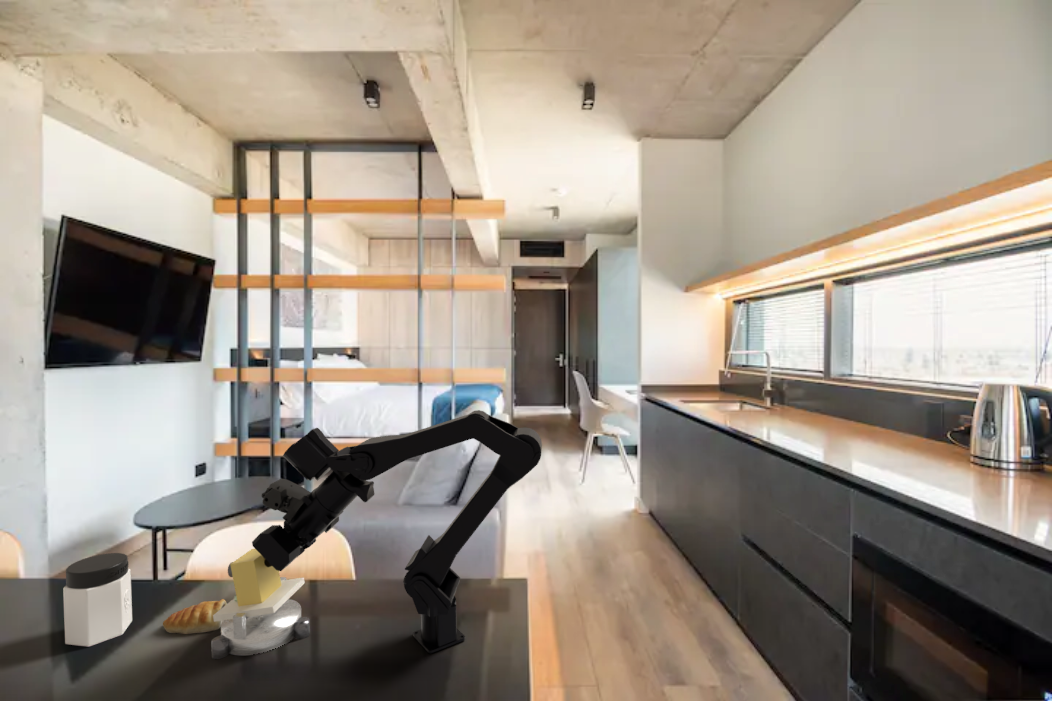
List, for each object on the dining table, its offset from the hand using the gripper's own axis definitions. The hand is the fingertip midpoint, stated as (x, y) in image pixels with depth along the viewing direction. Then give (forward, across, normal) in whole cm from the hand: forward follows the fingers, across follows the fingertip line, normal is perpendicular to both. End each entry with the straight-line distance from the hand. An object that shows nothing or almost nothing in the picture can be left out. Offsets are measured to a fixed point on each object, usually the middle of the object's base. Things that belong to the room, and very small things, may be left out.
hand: (266, 564), depth 88 cm
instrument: (+5, 0, +4) cm, 6 cm away
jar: (+29, +1, -12) cm, 31 cm away
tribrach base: (+9, 0, +8) cm, 12 cm away
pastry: (+18, -2, -1) cm, 18 cm away
